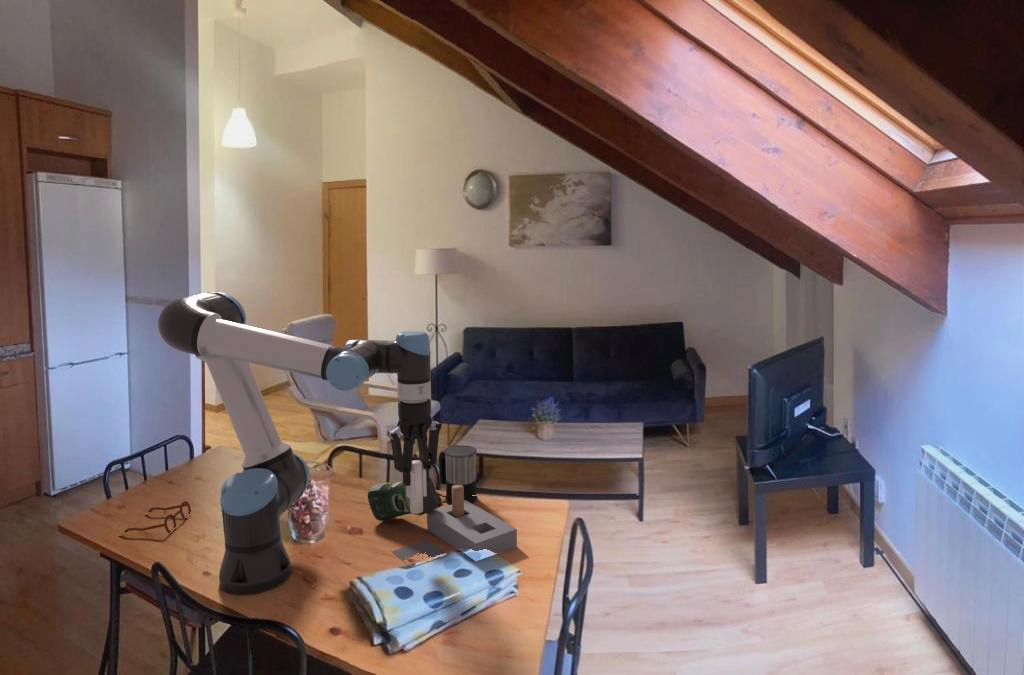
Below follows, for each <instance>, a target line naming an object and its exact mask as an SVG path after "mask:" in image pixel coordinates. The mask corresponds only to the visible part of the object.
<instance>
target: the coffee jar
mask: <svg viewBox="0 0 1024 675" xmlns="http://www.w3.org/2000/svg"><path fill="white" fill-rule="evenodd" d="M426 488H427V496H425V497H424V496H423V512H422V513H419V514H413V513H411V512H410V498H408V497H407V496H406V486H405V485H404V484H403V481H386V482H385V481H384V482H379V483H376V484H374V485H373V486H372V487H370V489H369V490H368V493H367V501H368V504H369V507H370V510H371V512H372V515H373V517H374V518H375V519H376V520H378V521H380V522H382V521H388V520H391V519H396V518H397V517H401V516H405V515H412V514H413V515H414V516H415V515H416V516H423V515H425V514H426V515H427V513H429V512H431V511H433V510H436V509H437V508H438V507H439V506H438V496H437V493H438V492H437V491H436V490H437V489H436V487H435V484H434V481H433V479H432V478H431V476H429V480H428V481H426ZM436 492H437V493H436ZM437 506H438V507H437Z"/></svg>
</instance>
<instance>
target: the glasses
mask: <svg viewBox="0 0 1024 675" xmlns="http://www.w3.org/2000/svg"><path fill="white" fill-rule="evenodd" d="M184 507H187V508H188V510H187V511H188V512H187V514H188V513H189V514H190V512H192V510H191V509H192V508H191V505H190V503H189V501H185V500H184V501H183V502H181V504H179V505H178V504H177V505H173V506H169V507H161V506H159V507H158V506H156V507H151V508H150V509H148V511H147V512H150V513H152V512H153V511H154V510H155V511H156V510H160V511H168V510H169V511H170V510H174V509H179V510H178V511H176V512H175V513H174V514H168V515H166V516H165V518H164V521H163V522H164V523H160V524H155V525H151V526H146V527H128V528H127V529H125V530H124V531H123V532H127V533H128V532H129V531H137V532H138V531H140V532H143V531H148V530H153V529H157V528H162V527H164V529H165V531H166V533H167V534H169V533H170V532H171V531H172V530H170V529H169V527H168V520H169V518H171V519H172V521H173V523H172V524H173V526H172V529H173V528H175V527H176V528H177V522H176V517H177V516H178V515H179V514H180V515H181V517H182V519H183V518H185V517H186V516H185V514H184V512H183V508H184Z"/></svg>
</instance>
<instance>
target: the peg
mask: <svg viewBox="0 0 1024 675" xmlns="http://www.w3.org/2000/svg"><path fill="white" fill-rule="evenodd" d="M411 472H414V482H415V499H414V500H411V499H410V512H411V513H413V515H415V514H419V513H422V512H423V480H422V461H420V459H416V460H415V459H414V460H412V468H411Z"/></svg>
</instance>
